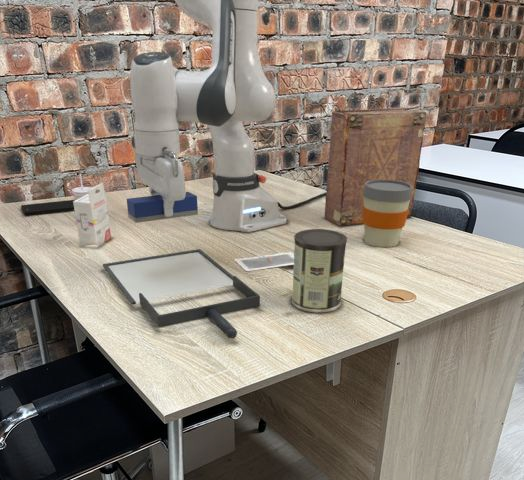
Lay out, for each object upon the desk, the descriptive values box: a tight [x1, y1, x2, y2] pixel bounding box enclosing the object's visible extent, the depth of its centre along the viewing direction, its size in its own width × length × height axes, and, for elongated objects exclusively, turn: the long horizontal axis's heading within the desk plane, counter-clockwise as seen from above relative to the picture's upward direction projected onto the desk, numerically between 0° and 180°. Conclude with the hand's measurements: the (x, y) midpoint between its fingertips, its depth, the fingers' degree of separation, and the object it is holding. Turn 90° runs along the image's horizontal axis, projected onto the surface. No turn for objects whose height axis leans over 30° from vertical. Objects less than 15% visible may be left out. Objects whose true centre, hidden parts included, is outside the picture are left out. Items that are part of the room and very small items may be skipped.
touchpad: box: [234, 251, 294, 272], centre depth 132 cm, size 8×15×2 cm, turn 113°
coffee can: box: [291, 228, 348, 313], centre depth 112 cm, size 10×10×14 cm
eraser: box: [126, 191, 199, 224], centre depth 119 cm, size 14×5×4 cm, turn 119°
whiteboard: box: [102, 248, 234, 305], centre depth 125 cm, size 24×23×2 cm
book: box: [323, 107, 428, 227], centre depth 161 cm, size 25×9×30 cm, turn 114°
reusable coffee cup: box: [362, 180, 412, 248], centre depth 147 cm, size 12×13×15 cm
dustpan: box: [139, 275, 261, 340], centre depth 107 cm, size 22×21×3 cm
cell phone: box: [20, 199, 75, 216], centre depth 171 cm, size 9×18×1 cm, turn 117°
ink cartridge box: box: [73, 182, 112, 247], centre depth 142 cm, size 9×5×15 cm, turn 168°
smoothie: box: [71, 173, 97, 200], centre depth 156 cm, size 6×6×14 cm
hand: (162, 211), depth 119 cm, fingers closed on eraser, 5 cm apart
